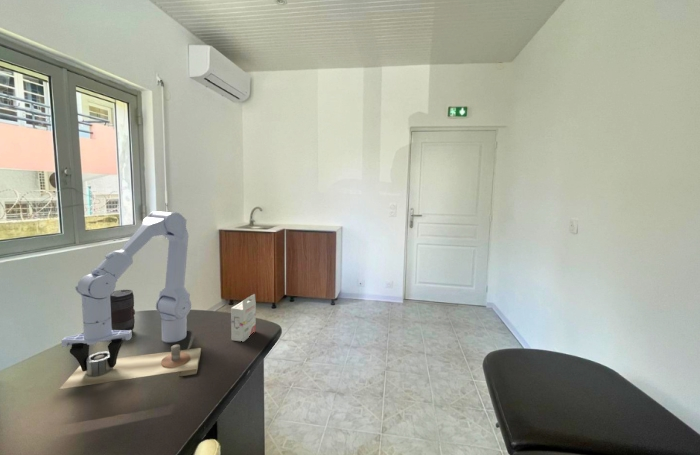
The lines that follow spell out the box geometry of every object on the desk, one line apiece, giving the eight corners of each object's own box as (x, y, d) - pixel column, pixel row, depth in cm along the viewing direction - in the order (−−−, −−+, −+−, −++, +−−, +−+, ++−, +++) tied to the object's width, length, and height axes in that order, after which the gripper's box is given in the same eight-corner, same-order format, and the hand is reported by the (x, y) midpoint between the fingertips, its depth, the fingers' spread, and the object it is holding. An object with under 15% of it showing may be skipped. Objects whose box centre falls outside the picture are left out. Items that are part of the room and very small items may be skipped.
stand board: (82, 367, 84) (81, 347, 84) (200, 352, 95) (200, 334, 95) (59, 394, 73) (58, 372, 73) (196, 373, 84) (196, 353, 83)
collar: (91, 366, 82) (91, 352, 82) (115, 363, 84) (115, 350, 84) (82, 378, 77) (81, 363, 77) (108, 374, 79) (107, 360, 79)
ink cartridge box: (243, 329, 112) (244, 291, 110) (255, 331, 111) (256, 293, 109) (230, 340, 104) (230, 299, 102) (243, 342, 103) (243, 301, 101)
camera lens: (118, 328, 108) (116, 288, 106) (140, 329, 108) (139, 289, 106) (99, 339, 100) (97, 296, 98) (123, 340, 100) (121, 297, 98)
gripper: (53, 328, 73) (57, 381, 74) (125, 322, 78) (127, 371, 80) (68, 317, 80) (71, 365, 81) (133, 312, 85) (135, 357, 86)
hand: (99, 367), depth 81 cm, fingers closed on collar, 5 cm apart
